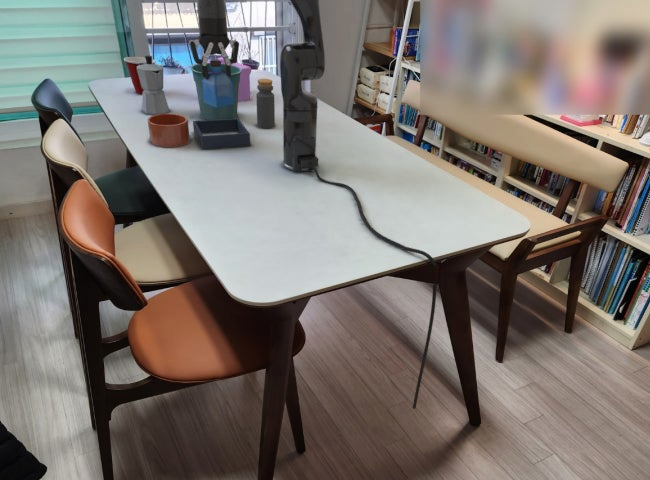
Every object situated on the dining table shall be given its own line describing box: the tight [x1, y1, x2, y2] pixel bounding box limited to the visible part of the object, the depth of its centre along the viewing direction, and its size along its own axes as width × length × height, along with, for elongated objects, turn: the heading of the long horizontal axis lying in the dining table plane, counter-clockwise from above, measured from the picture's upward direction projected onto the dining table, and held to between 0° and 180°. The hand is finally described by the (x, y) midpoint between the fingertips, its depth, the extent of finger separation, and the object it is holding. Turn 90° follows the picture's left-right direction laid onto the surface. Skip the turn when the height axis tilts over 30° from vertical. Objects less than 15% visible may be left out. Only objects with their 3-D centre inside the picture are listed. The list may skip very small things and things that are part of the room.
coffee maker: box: [137, 55, 170, 116], centre depth 176 cm, size 15×9×18 cm, turn 42°
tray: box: [192, 117, 251, 150], centre depth 163 cm, size 14×14×4 cm
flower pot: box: [189, 63, 242, 120], centre depth 178 cm, size 16×16×16 cm
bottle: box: [255, 78, 276, 130], centre depth 174 cm, size 6×6×15 cm
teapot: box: [187, 56, 252, 102], centre depth 197 cm, size 15×25×14 cm, turn 131°
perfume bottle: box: [202, 59, 234, 107], centre depth 155 cm, size 6×6×12 cm
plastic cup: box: [123, 56, 157, 95], centre depth 194 cm, size 11×11×12 cm
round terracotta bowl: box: [146, 113, 191, 148], centre depth 158 cm, size 11×11×6 cm
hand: (216, 78), depth 154 cm, fingers closed on perfume bottle, 5 cm apart
